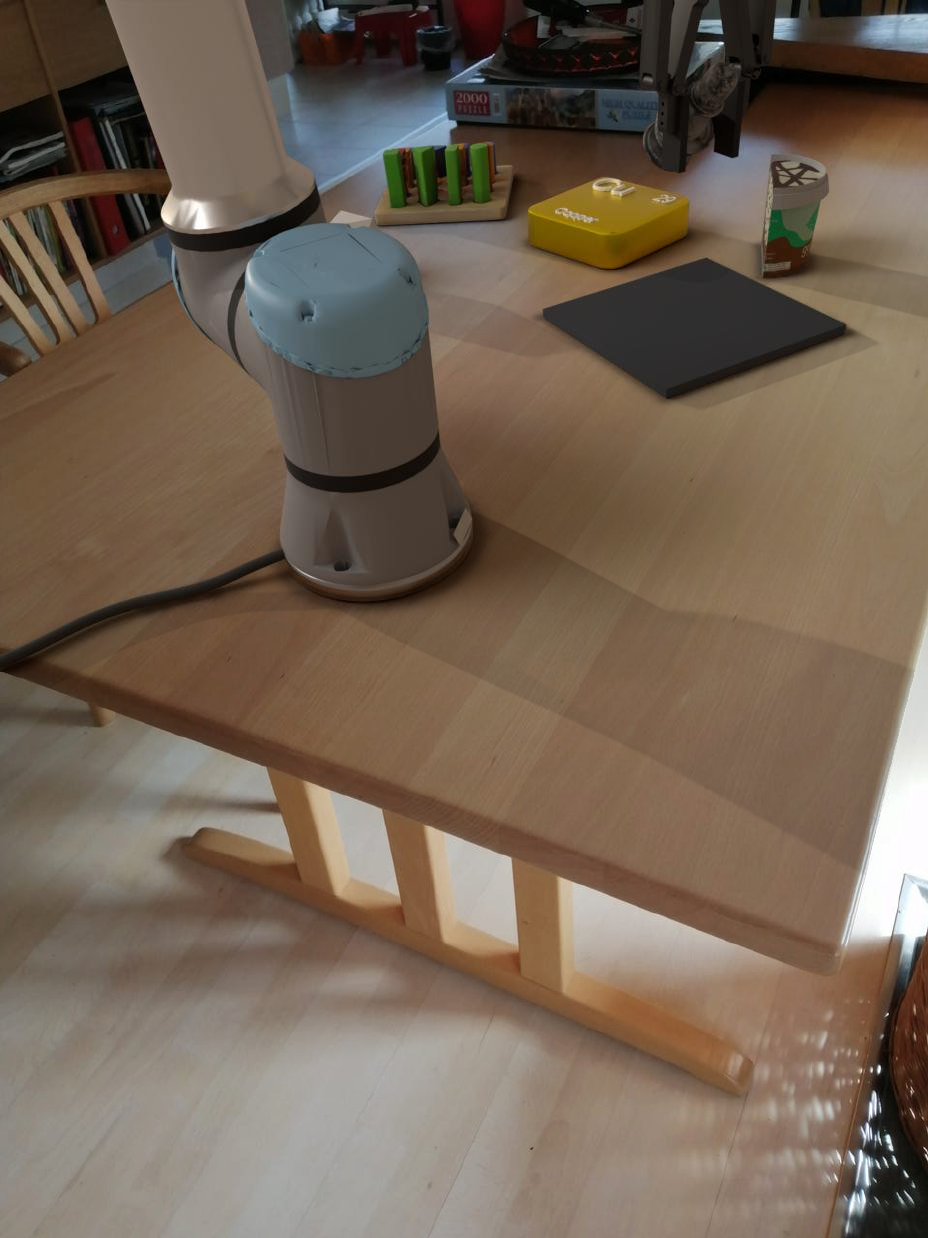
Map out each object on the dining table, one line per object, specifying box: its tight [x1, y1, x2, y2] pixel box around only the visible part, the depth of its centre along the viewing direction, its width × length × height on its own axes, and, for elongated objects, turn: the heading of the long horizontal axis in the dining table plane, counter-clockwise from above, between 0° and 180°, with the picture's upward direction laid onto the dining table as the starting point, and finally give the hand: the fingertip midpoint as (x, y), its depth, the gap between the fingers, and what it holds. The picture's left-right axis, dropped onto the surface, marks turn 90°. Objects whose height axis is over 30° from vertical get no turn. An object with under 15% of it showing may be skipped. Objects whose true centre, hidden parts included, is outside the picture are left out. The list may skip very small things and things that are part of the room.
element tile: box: [527, 176, 690, 270], centre depth 122 cm, size 15×15×5 cm
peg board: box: [374, 141, 514, 226], centre depth 136 cm, size 18×17×9 cm
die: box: [329, 210, 381, 231], centre depth 117 cm, size 8×9×10 cm
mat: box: [542, 257, 847, 399], centre depth 104 cm, size 22×22×1 cm
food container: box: [760, 153, 830, 279], centre depth 111 cm, size 12×6×10 cm, turn 168°
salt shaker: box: [642, 61, 738, 173], centre depth 91 cm, size 6×6×12 cm
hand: (699, 160), depth 94 cm, fingers closed on salt shaker, 5 cm apart
